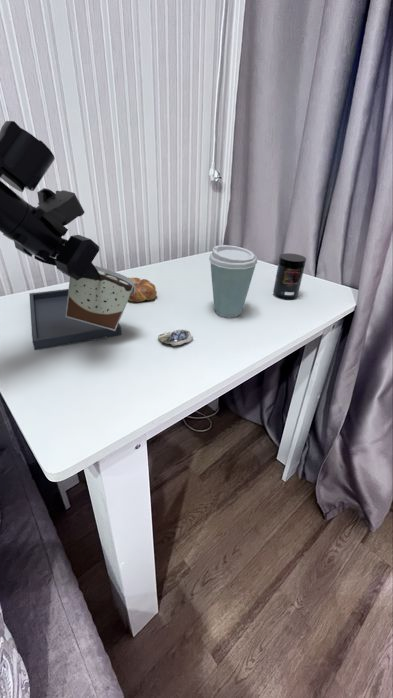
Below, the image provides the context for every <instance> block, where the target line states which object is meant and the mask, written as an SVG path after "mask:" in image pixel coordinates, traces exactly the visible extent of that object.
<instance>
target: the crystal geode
mask: <svg viewBox="0 0 393 698" xmlns="http://www.w3.org/2000/svg"><path fill="white" fill-rule="evenodd" d="M157 339H158V341H159V342H160V343H165V344H167V345H168V344H170V345H171V346H172V347H177V346H180V345H183V344H185V343H190V342H191V341H193V340H194V338H193V336H192V334H191V332H190V331H189V330H187V329H176V330H173V331H172V332H171V331H168V332H167V331H164V332H163V333H161V334H158V335H157Z"/></svg>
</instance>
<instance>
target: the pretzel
mask: <svg viewBox="0 0 393 698" xmlns="http://www.w3.org/2000/svg"><path fill="white" fill-rule="evenodd" d="M129 278H130V279H131V280H133V281H134V282H135V285H134V286H135V294H133V292H131V295H130V297H129V299H128V302H135V303H141V302H142V303H143V302H144V301H145V302H146V301H153V300H154V299H155V298H156V297H157V296H158V295H157V294H158V292H157V290H156V285H155V284H154V283H152V282H151V281H150V280H148V279H146V278H142V279H141V278H139V277H129Z"/></svg>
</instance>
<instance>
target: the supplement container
mask: <svg viewBox="0 0 393 698" xmlns="http://www.w3.org/2000/svg"><path fill="white" fill-rule="evenodd" d="M277 261H278V263H277V268H276V274H275V278H274V279H275V280H274V285H273V291H272V292H273V295H274V296H275V297H276V298H278V299H281V300H294V299H296V298H298V296H299V293H300V289H301V284H302V279H303V276H304V271H305V266H306V262H307V258H306V256H304V255H301V254H297V253H288V252H287V253H281V254H280V255H279V257H278V260H277Z"/></svg>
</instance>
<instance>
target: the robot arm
mask: <svg viewBox="0 0 393 698" xmlns="http://www.w3.org/2000/svg"><path fill="white" fill-rule="evenodd" d="M55 158H56V157H55V155H54V153H53V152H52V151H51V149H50V148H49V147H48V146H47V144H46V143H44V142H43V141H42V140H40V139H38V138H37V137H36V136H34V135H33V134H32V133H30V132H29V131H28V130H25V129H24V128H22V127H21V126H19V124H17V122H16V121H14V120H5V122H4V123H3V124H2V126H1V128H0V179H1V180H0V232H1V233H2V235H3V236H5V237H6V238H8V239H9V240H11V241H13V243H14V247H15V249H17V250H18V251H20V252H22V253H23V254H25V255H26V256H28V257H30V258H33V256H34V259H35V260H36V261H39V262H40V263H43V264H47V265H51V266H55V267H56V269H57V270H59V271H60V272H61V273H62V274H64V275H66V276H68V277H69V278H70V277H72V278H74V279H76V280H79V279H81V278H86V279H92V280H99V278H100V276H101V275H100V274H99V272H98V271H97V269H96V268H95V266H96V265H94V263H93V261H94V260H95V258H96V256H98V253H99V252H100V246H99V245H98V244H97V243H96V242H95V241H94V240H92V239H91V238H88V237H85V236H83V235H81V234H75V235H74V234H73V235H70V237H69V238H68V239H65V238H63V237H65V236H66V234H67V233H68V231H69V228H67V227H66V226H67V225H69V224H71V222H73V221H75V220H76V219H77V218H78V217H82V216H83V215H84V214H85V210H84V207H83V206H82V204H81V203H80V200H79V198H78V196H77V195H76V193H75V192H72V191H67V190H64V189H63V190H56V191H55V192H54V191H52V190H51V189H49V188H46V187H43V188H41V189H40V190H38V191H37V192H36V194H37V199H38V203H37V205H38V206H33V205H32V204H30V203H29V202H27V201H26V200H25V199H24V198H23V197H21V196H20V195H19V194H18V193H16V192H15V191H14V190H13V189H15V190H16V191H18V192H21V193H23V192H24V191H25V189H26V190H29V191H31V192H35V190H36V188H37V187H38V186H39V184H40V182H41V181H42V179H43V178H44V176H45V175H46V173H47V172H48V170H49V169H50V167H51V166H52V164H53V163H54V161H55V160H56V159H55ZM2 180H3V181H2ZM5 183H6V184H5ZM7 184H8V185H9V186H8V185H7ZM10 187H12V188H13V189H11V188H10Z"/></svg>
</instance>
